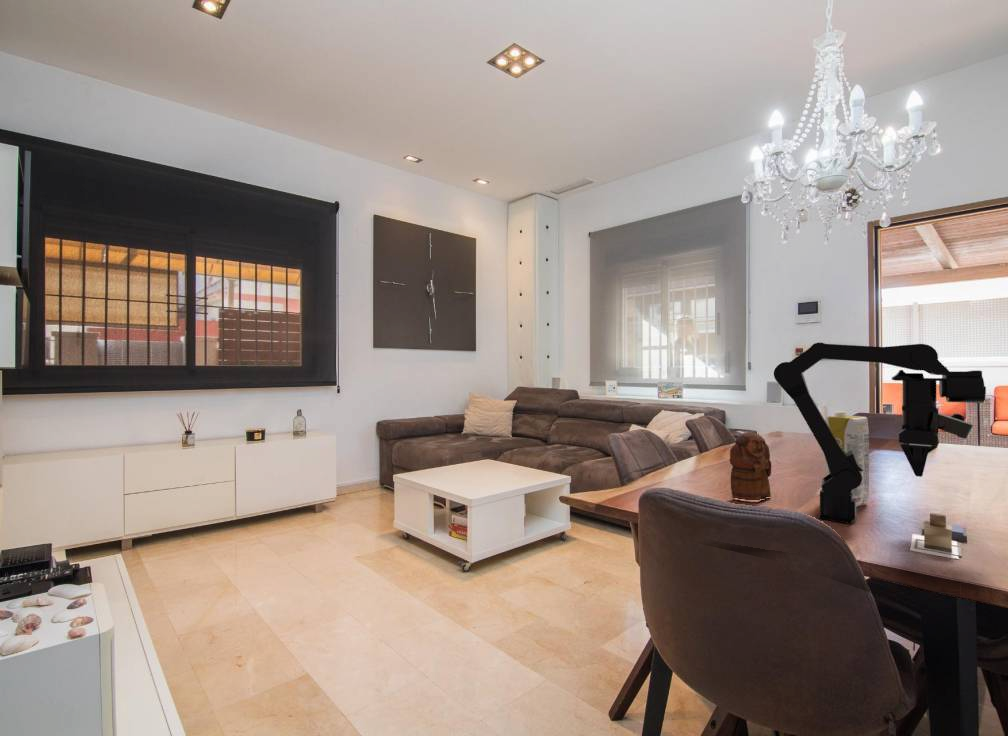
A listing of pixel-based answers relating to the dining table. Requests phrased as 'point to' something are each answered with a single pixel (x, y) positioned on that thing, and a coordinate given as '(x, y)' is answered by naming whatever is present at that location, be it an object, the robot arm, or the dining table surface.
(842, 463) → the robot arm
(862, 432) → the juice carton
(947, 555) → the white rectangular plate
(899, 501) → the dining table surface
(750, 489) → the wooden figurine
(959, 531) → the pad
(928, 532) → the stamp
